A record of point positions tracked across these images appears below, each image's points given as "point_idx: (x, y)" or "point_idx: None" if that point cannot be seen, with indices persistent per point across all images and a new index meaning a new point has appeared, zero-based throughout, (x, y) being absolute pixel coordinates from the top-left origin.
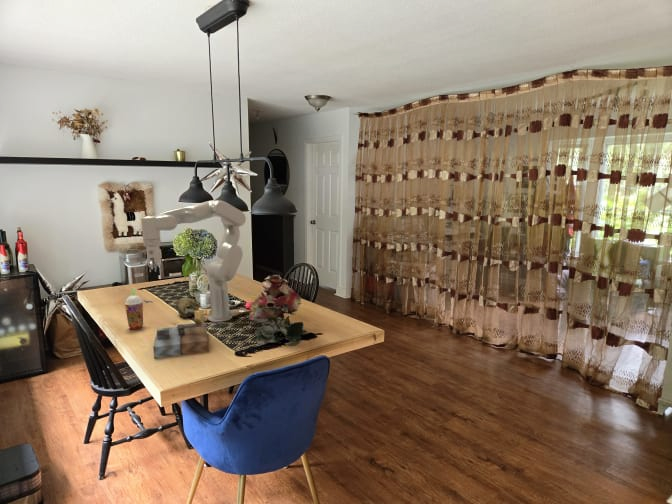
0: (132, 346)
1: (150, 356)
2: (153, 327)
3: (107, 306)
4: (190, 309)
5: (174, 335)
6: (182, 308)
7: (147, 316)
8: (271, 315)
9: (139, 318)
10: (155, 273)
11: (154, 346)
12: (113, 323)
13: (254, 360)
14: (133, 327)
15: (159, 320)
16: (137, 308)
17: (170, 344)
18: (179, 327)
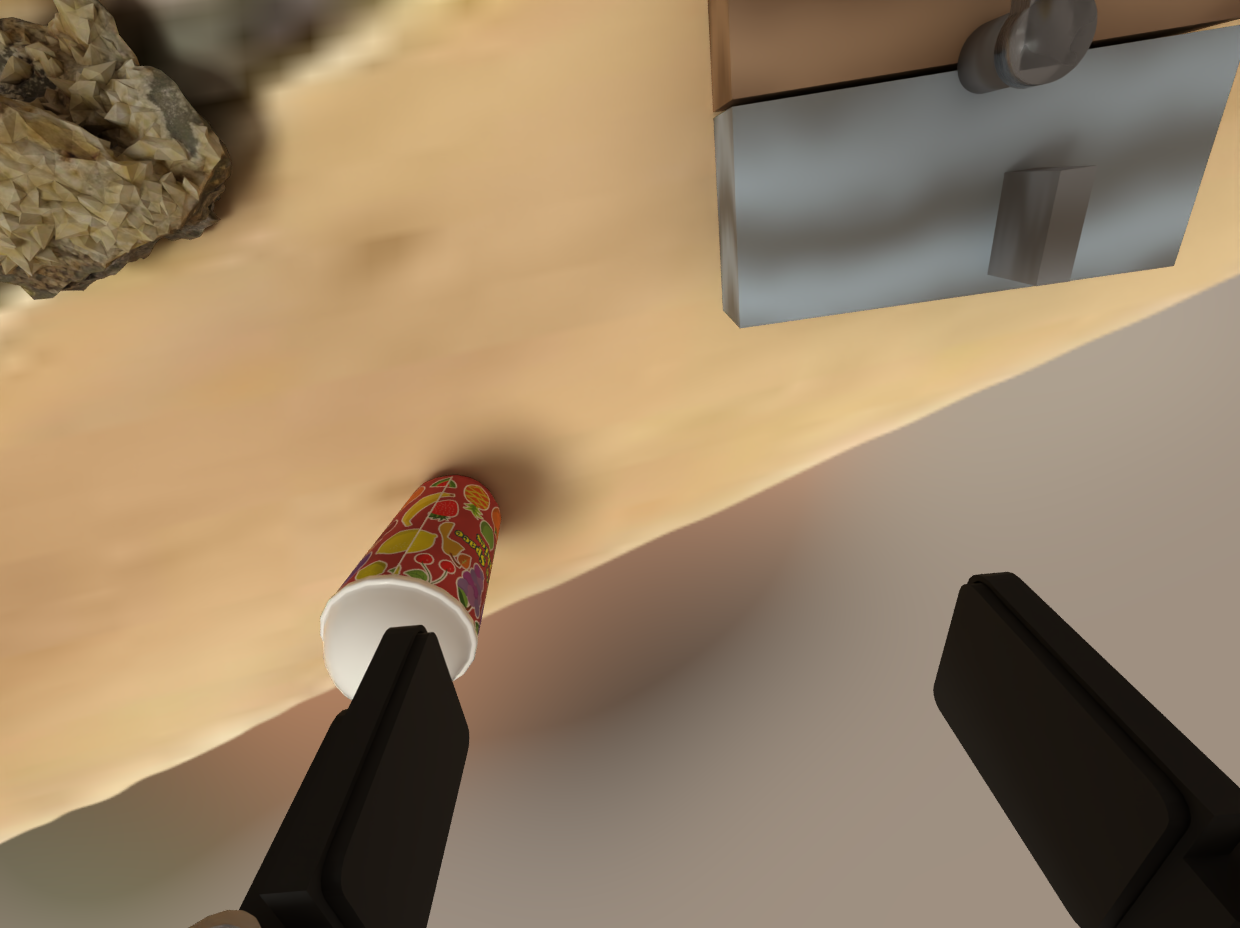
0: (810, 441)
1: (1046, 289)
2: (463, 399)
3: (43, 749)
4: (123, 104)
5: (984, 131)
6: (170, 195)
7: (209, 496)
8: None
9: (471, 516)
10: (1158, 766)
11: (1162, 259)
12: None
13: None
14: (500, 518)
15: (298, 393)
16: (462, 573)
17: (1205, 125)
18: (1081, 50)
